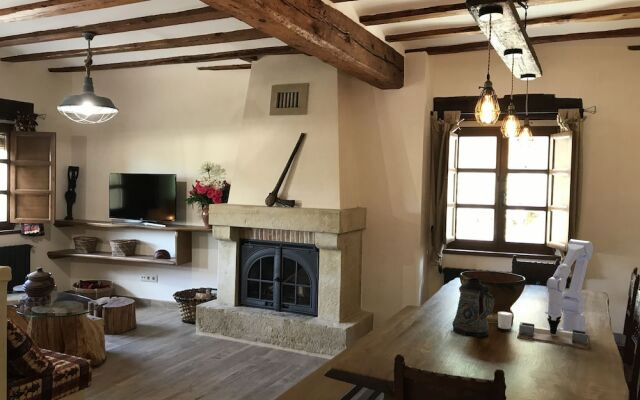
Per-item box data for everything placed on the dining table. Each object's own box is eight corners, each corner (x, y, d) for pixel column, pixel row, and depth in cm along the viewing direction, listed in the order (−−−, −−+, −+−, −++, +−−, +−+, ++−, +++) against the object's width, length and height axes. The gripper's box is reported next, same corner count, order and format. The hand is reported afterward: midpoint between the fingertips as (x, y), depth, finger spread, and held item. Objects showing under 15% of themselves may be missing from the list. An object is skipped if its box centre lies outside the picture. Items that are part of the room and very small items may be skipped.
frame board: (588, 342, 241) (588, 340, 241) (588, 348, 232) (588, 346, 232) (519, 332, 254) (519, 330, 254) (517, 337, 245) (517, 335, 245)
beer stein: (457, 325, 263) (460, 274, 262) (498, 332, 253) (501, 279, 252) (447, 333, 249) (449, 279, 248) (490, 340, 239) (493, 284, 238)
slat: (581, 339, 248) (582, 333, 247) (581, 341, 245) (582, 334, 245) (526, 331, 258) (526, 325, 258) (525, 333, 255) (525, 326, 255)
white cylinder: (502, 329, 258) (503, 315, 258) (494, 325, 265) (494, 311, 264) (514, 329, 260) (515, 314, 260) (506, 325, 267) (507, 311, 266)
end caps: (587, 341, 240) (587, 331, 240) (587, 345, 234) (587, 335, 234) (520, 331, 252) (520, 322, 252) (518, 334, 246) (519, 325, 246)
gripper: (546, 299, 259) (545, 327, 260) (544, 305, 246) (543, 334, 246) (562, 301, 256) (561, 329, 256) (561, 307, 243) (560, 337, 243)
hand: (553, 332), depth 251 cm, fingers open, 5 cm apart
